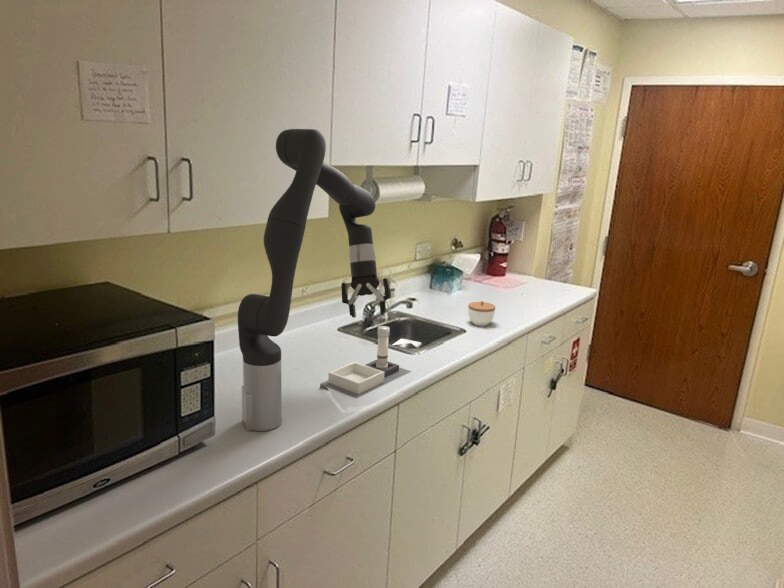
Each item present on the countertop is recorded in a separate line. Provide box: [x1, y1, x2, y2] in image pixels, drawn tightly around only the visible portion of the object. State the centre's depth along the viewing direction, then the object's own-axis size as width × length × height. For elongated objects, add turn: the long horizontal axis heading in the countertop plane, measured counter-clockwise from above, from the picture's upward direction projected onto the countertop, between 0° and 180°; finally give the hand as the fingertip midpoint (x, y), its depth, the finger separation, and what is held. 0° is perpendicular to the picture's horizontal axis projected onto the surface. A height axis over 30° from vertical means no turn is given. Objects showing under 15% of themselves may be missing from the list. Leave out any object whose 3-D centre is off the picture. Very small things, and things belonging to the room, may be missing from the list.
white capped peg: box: [376, 325, 391, 370], centre depth 179 cm, size 4×4×14 cm
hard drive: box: [392, 338, 422, 349], centre depth 204 cm, size 2×8×12 cm
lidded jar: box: [467, 300, 496, 327], centre depth 234 cm, size 11×11×9 cm
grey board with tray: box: [319, 359, 412, 399], centre depth 175 cm, size 26×14×4 cm, turn 143°
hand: (368, 316), depth 170 cm, fingers open, 8 cm apart
